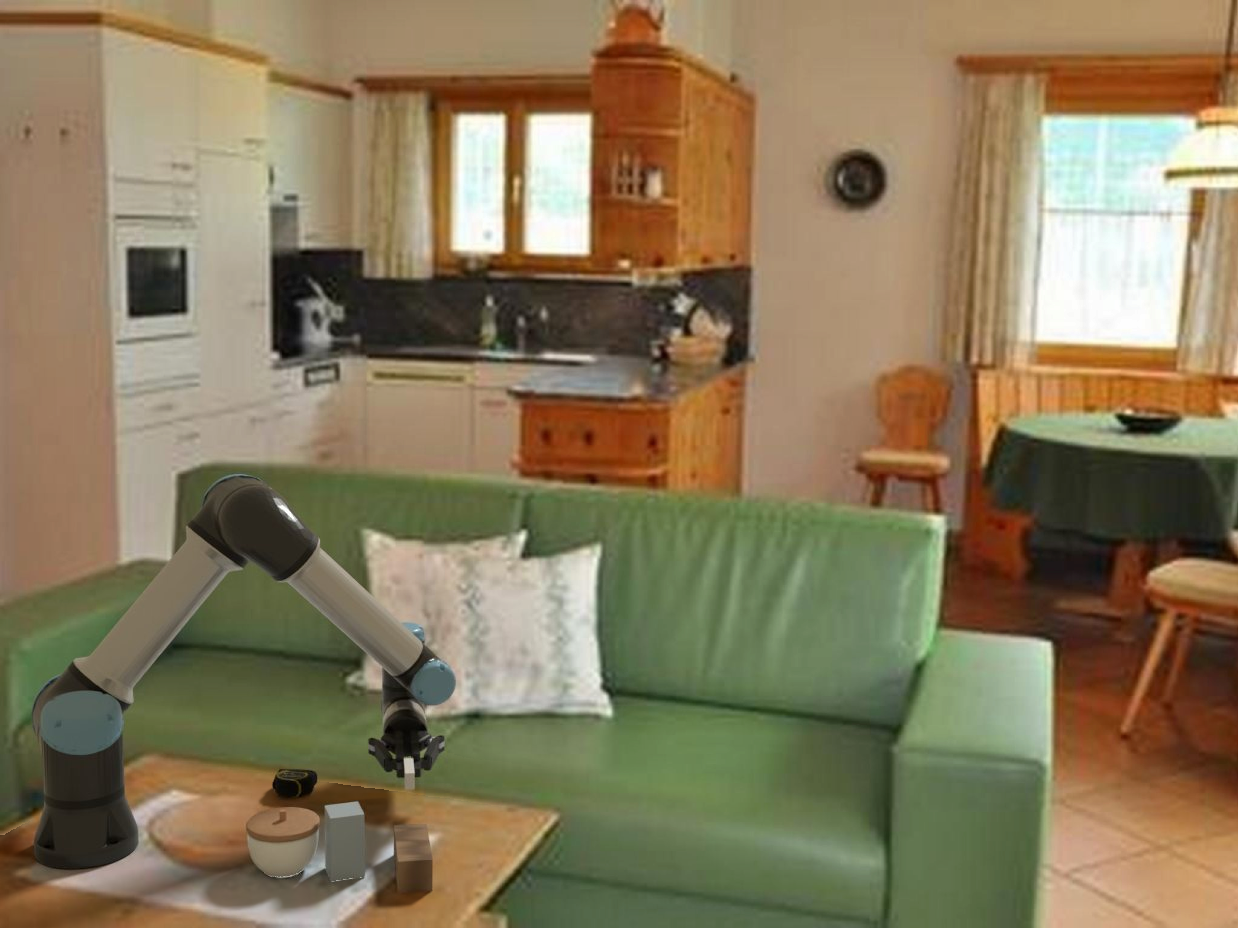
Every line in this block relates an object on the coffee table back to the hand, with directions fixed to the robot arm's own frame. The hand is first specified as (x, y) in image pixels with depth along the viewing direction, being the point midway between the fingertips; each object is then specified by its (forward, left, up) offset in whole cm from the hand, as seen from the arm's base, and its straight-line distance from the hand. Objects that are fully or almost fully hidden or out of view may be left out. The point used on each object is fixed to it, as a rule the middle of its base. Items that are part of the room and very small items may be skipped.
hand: (409, 781), depth 221 cm
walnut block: (0, -4, -8) cm, 9 cm away
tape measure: (-18, +24, -11) cm, 32 cm away
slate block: (-10, -9, -10) cm, 17 cm away
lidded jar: (-19, -6, -10) cm, 23 cm away
